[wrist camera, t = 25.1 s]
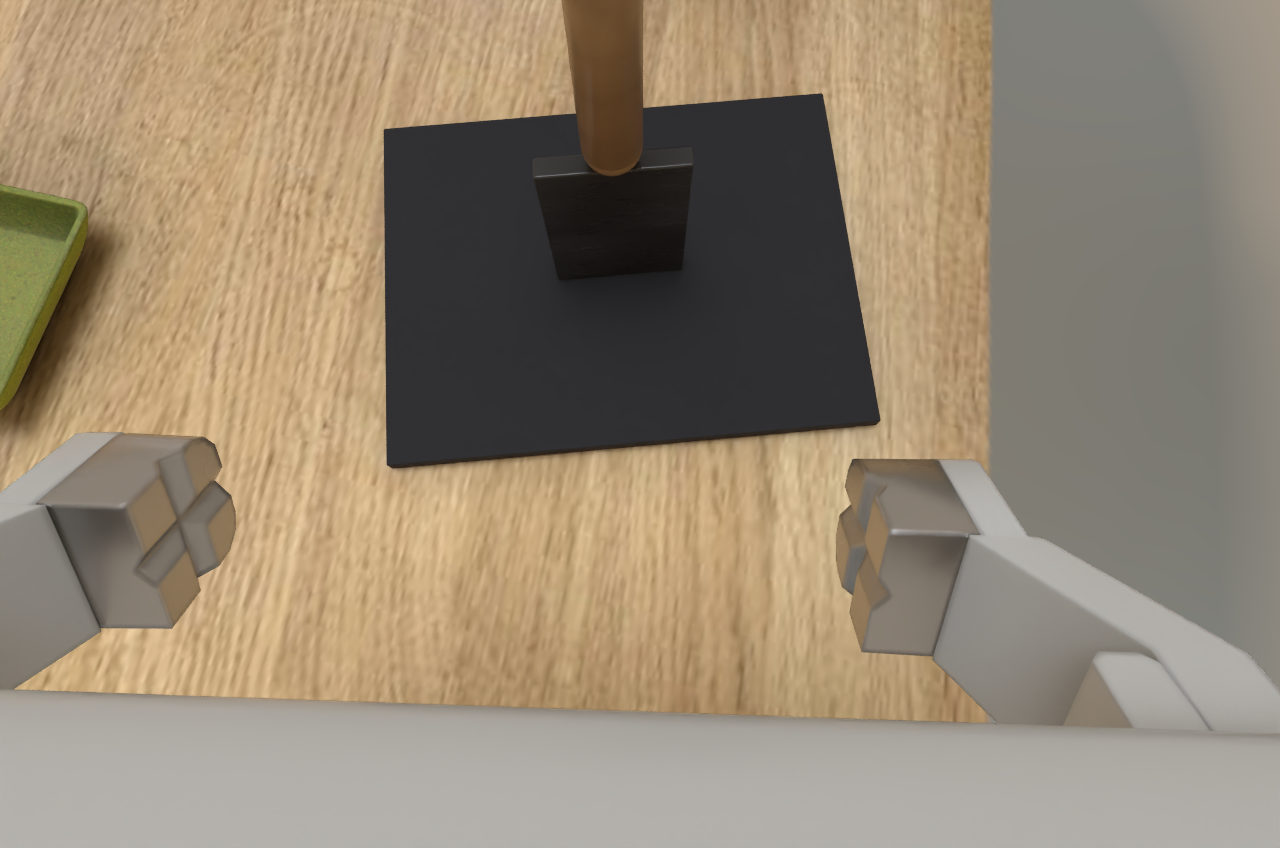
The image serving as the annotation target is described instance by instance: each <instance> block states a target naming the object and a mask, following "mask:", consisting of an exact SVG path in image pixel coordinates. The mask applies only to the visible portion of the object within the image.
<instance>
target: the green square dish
mask: <svg viewBox="0 0 1280 848" xmlns="http://www.w3.org/2000/svg"><path fill="white" fill-rule="evenodd" d="M87 230H88V212H87V207H86V206H85V205H84V204H83V203H81V202H78V201H75V200H71V199H66V198H62V197H57V196H54V195H48V194H44V193H39V192H34V191H29V190H25V189H20V188H16V187H12V186H6V185H2V184H0V410H1V409H3V408H4V407H5V406H6V405H7V404H8V403H9V402H10V400H11V399H12V398H13V396H14V395H15V393H16V391H17V390H18V387H19V385H20V383H21V381H22V379H23V377H24V374H25V372H26V370H27V368H28V366H29V364H30V361H31V359H32V357H33V355H34V353H35V351H36V348H37V346H38V344H39V342H40V340H41V338H42V335H43V333H44V331H45V329H46V327H47V325H48V323H49V320H50V318H51V316H52V314H53V312H54V310H55V308H56V306H57V303H58V301H59V299H60V297H61V295H62V293H63V291H64V289H65V286H66V284H67V282H68V280H69V278H70V276H71V273H72V271H73V269H74V267H75V265H76V263H77V261H78V259H79V257H80V254H81V252H82V249H83V247H84V243H85V240H86V235H87Z"/></svg>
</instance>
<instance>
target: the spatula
mask: <svg viewBox="0 0 1280 848" xmlns="http://www.w3.org/2000/svg"><path fill="white" fill-rule="evenodd" d="M562 8H563V16H564V23H565V31H566V39H567V47H568V54H569V62H570V70H571V77H572V85H573V93H574V101H575V108H576V116H577V124H578V132H579V139H580V147H581V152H582V155H573V156H561V157H549V158H536V159H533V161H532V166H533V179H534V183H535V187H536V191H537V195H538V199H539V204H540V208H541V212H542V216H543V220H544V224H545V228H546V232H547V236H548V241H549V245H550V249H551V253H552V257H553V261H554V265H555V269H556V274H557V278H558V280H566V279H577V278H589V277H601V276H613V275H624V274H636V273H648V272H660V271H671V270H681V269H682V267H683V258H684V249H685V239H686V230H687V221H688V212H689V203H690V194H691V185H692V176H693V167H694V163H693V154H692V148H691V146H683V147H671V148H658V149H646V150H642V148H643V0H562Z"/></svg>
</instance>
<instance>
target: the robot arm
mask: <svg viewBox="0 0 1280 848" xmlns="http://www.w3.org/2000/svg"><path fill="white" fill-rule="evenodd" d="M221 468H222V464H221V461H220V458H219V455H218V452H217V449H216V447H215V444H213V443H212V442H210V441H209V440H208V439H206V438H205V437H194V436H175V435H155V434H136V433H127V434H125V433H122V432H86V433H78V434H75V435H74V436H73V437H71V438H70V439H69V440H67V441H66V442H65V443H64V444H62V445H61V446H60V447H58V448H57V449H56V450H54V451H53V452H52V453H51V454H49V455H48V456H47V457H45V458H44V459H43V460H42V461H40V462H39V463H38V464H36V465H35V466H34V467H33V468H31V469H30V470H29V471H27V472H26V473H25V474H24V475H22V476H21V477H20V478H18V479H17V480H16V481H14V482H13V483H12V484H11V485H9V486H8V487H7V488H5V489H4V490H3V491H2V492H0V848H1280V690H1279V688H1277V686H1276V685H1275V684H1274V683H1273V681H1272V680H1271V679H1270V678H1269V677H1268V676H1267V675H1266V673H1265V672H1264V671H1263V670H1262V669H1261V668H1260V666H1259V665H1258V664H1257V663H1256V662H1255V661H1254V659H1253V658H1252V657H1251V656H1250V655H1249V654H1248V653H1246V652H1244V651H1243V650H1241V649H1239V648H1237V647H1236V646H1234V645H1232V644H1230V643H1228V642H1226V641H1225V640H1223V639H1221V638H1220V637H1217V636H1216V635H1214V634H1212V633H1211V632H1209V631H1207V630H1205V629H1204V628H1202V627H1200V626H1198V625H1196V624H1195V623H1193V622H1191V621H1189V620H1187V619H1186V618H1184V617H1182V616H1180V615H1179V614H1177V613H1175V612H1173V611H1172V610H1170V609H1168V608H1166V607H1165V606H1163V605H1161V604H1159V603H1157V602H1156V601H1154V600H1152V599H1150V598H1148V597H1147V596H1145V595H1143V594H1141V593H1140V592H1138V591H1136V590H1134V589H1133V588H1131V587H1129V586H1127V585H1125V584H1124V583H1122V582H1120V581H1118V580H1117V579H1115V578H1113V577H1111V576H1110V575H1108V574H1106V573H1104V572H1102V571H1101V570H1099V569H1097V568H1095V567H1094V566H1092V565H1090V564H1088V563H1086V562H1085V561H1083V560H1081V559H1079V558H1078V557H1076V556H1074V555H1072V554H1070V553H1069V552H1067V551H1065V550H1063V549H1062V548H1060V547H1058V546H1056V545H1054V544H1053V543H1051V542H1049V541H1047V540H1046V539H1044V538H1042V537H1029V536H1028V535H1027V533H1026V532H1025V530H1024V529H1023V527H1022V526H1021V524H1020V523H1019V521H1018V520H1017V518H1016V517H1015V515H1014V514H1013V512H1012V511H1011V509H1010V508H1009V506H1008V505H1007V503H1006V502H1005V500H1004V499H1003V497H1002V496H1001V494H1000V493H999V491H998V490H997V488H996V487H995V485H994V483H993V482H992V480H991V479H990V477H989V476H988V474H987V473H986V471H985V470H984V468H983V467H982V465H981V464H980V463H979V462H977V461H975V460H973V459H853V460H852V462H851V465H850V467H849V470H848V474H847V479H846V484H845V488H846V491H847V494H848V497H849V500H850V503H851V505H850V506H849V507H848V508H847V509H846V510H845V511H844V512H842V513H841V514H840V516H839V522H838V528H837V535H836V562H837V569H838V574H839V578H840V581H841V585H842V587H843V588H844V589H845V590H847V591H848V592H849V593H850V594H852V595H853V597H852V602H851V607H850V616H851V619H852V622H853V625H854V629H855V632H856V635H857V638H858V642H859V645H860V648H861V651H862V652H869V653H885V654H902V655H919V656H933V659H932V660H933V661H934V662H935V663H936V664H937V665H939V666H940V667H941V668H942V669H943V670H944V671H945V672H946V673H947V674H948V675H949V676H950V677H951V678H952V679H953V680H954V681H955V682H956V683H957V684H958V685H959V686H960V687H961V688H962V689H963V690H964V691H965V692H966V693H967V694H968V695H969V696H970V697H971V698H972V699H973V700H974V701H975V702H976V703H977V704H978V705H980V706H981V707H982V708H983V709H984V710H985V711H986V712H987V713H988V714H989V715H990V716H991V717H992V718H993V719H994V720H995V721H996V722H997V723H998V724H996V723H995V724H994V723H967V722H937V721H905V720H876V719H848V718H819V717H791V716H762V715H734V714H705V713H677V712H648V711H620V710H591V709H563V708H534V707H503V706H473V705H442V704H413V703H385V702H356V701H328V700H299V699H271V698H242V697H214V696H185V695H157V694H128V693H100V692H71V691H42V690H14V689H15V688H16V687H18V686H19V685H21V684H22V683H24V682H25V681H27V680H28V679H30V678H31V677H33V676H34V675H36V674H37V673H39V672H40V671H42V670H43V669H45V668H46V667H48V666H50V665H51V664H53V663H54V662H56V661H57V660H59V659H60V658H62V657H63V656H65V655H66V654H68V653H69V652H71V651H72V650H74V649H75V648H77V647H78V646H80V645H81V644H83V643H84V642H86V641H87V640H89V639H90V638H92V637H93V636H95V635H96V634H98V633H99V632H101V629H100V628H163V629H172V628H173V627H174V625H175V624H176V623H177V621H178V620H179V619H180V617H181V616H182V615H183V613H184V612H185V611H186V609H187V608H188V607H189V605H190V604H191V603H192V601H193V600H194V599H195V597H196V596H197V595H198V593H199V592H200V591H201V589H200V585H199V581H198V577H200V576H202V575H204V574H205V573H207V572H209V571H211V570H213V569H215V568H216V567H218V566H219V565H220V564H221V562H222V561H223V560H224V558H225V557H226V555H227V554H228V552H229V551H230V549H231V545H232V542H233V538H234V535H235V531H236V514H235V508H234V505H233V501H232V497H231V495H230V494H229V493H228V492H227V491H226V490H225V489H223V488H222V487H221V486H220V485H219V484H218V483H217V482H216V481H215V479H216V477H217V476H218V474H219V472H220V470H221Z"/></svg>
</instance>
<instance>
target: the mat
mask: <svg viewBox="0 0 1280 848" xmlns="http://www.w3.org/2000/svg"><path fill="white" fill-rule="evenodd" d="M683 146H691V148H692V154H693V163H694V167H693V176H692V185H691V194H690V203H689V212H688V221H687V230H686V239H685V249H684V258H683V267H682V269H681V270H671V271H660V272H648V273H636V274H624V275H613V276H601V277H589V278H577V279H566V280H558V278H557V274H556V269H555V265H554V261H553V257H552V253H551V249H550V245H549V241H548V236H547V232H546V228H545V224H544V220H543V216H542V212H541V208H540V204H539V199H538V195H537V191H536V187H535V183H534V179H533V166H532V161H533V159H536V158H549V157H561V156H573V155H582V152H581V147H580V139H579V132H578V124H577V116H576V114H564V115H552V116H540V117H527V118H515V119H503V120H491V121H478V122H466V123H454V124H442V125H429V126H417V127H405V128H393V129H384V208H385V321H386V435H387V465H388V466H389V467H391V468H402V467H413V466H424V465H435V464H446V463H457V462H468V461H479V460H490V459H501V458H513V457H524V456H535V455H546V454H557V453H568V452H579V451H590V450H601V449H612V448H623V447H634V446H645V445H656V444H668V443H679V442H690V441H701V440H712V439H723V438H734V437H745V436H756V435H767V434H778V433H789V432H800V431H811V430H822V429H834V428H845V427H856V426H867V425H876V424H877V423H878V422H879V421H880V415H879V409H878V404H877V398H876V392H875V387H874V381H873V376H872V370H871V364H870V359H869V353H868V347H867V342H866V336H865V330H864V325H863V319H862V313H861V308H860V302H859V296H858V291H857V285H856V280H855V274H854V268H853V263H852V257H851V251H850V246H849V240H848V234H847V229H846V223H845V217H844V212H843V206H842V201H841V195H840V189H839V184H838V178H837V172H836V167H835V161H834V155H833V150H832V144H831V138H830V133H829V127H828V121H827V116H826V110H825V105H824V99H823V94H809V95H797V96H785V97H773V98H760V99H748V100H736V101H724V102H711V103H699V104H687V105H675V106H662V107H650V108H643V148H642V150H646V149H658V148H671V147H683Z"/></svg>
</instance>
